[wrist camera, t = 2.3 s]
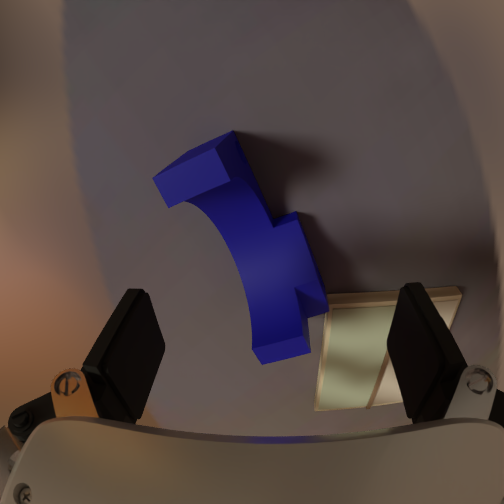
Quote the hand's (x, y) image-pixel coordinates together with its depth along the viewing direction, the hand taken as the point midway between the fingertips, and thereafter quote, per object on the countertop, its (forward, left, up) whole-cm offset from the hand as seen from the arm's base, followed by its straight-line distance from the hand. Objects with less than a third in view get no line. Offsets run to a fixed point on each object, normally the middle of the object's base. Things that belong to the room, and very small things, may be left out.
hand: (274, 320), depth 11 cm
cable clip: (0, -1, -10) cm, 10 cm away
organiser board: (+13, +9, -9) cm, 18 cm away
